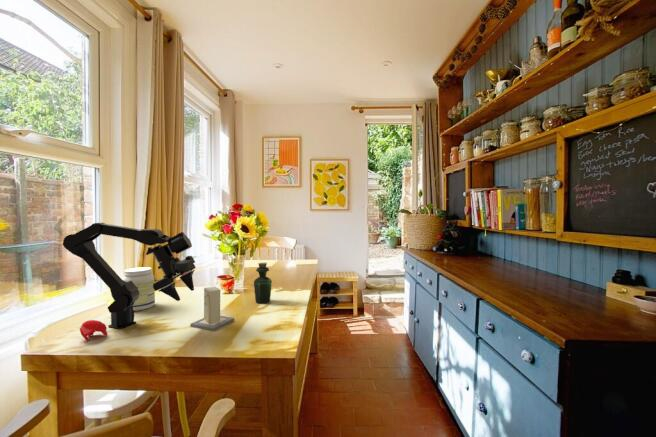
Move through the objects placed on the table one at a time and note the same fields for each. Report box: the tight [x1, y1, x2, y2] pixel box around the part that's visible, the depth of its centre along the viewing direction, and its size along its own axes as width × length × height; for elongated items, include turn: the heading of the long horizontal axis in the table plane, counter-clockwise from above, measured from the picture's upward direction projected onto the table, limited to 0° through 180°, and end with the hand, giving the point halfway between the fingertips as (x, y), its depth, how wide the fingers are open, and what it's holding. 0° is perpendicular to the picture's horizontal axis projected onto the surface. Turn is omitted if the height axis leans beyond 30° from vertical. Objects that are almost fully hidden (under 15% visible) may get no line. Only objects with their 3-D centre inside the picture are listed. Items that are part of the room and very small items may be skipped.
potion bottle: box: [253, 262, 273, 305], centre depth 144 cm, size 8×8×18 cm
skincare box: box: [203, 286, 221, 324], centre depth 118 cm, size 6×4×12 cm
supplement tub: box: [121, 266, 156, 312], centre depth 137 cm, size 12×12×17 cm
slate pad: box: [189, 315, 235, 332], centre depth 118 cm, size 11×11×1 cm
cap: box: [79, 319, 108, 342], centre depth 105 cm, size 8×6×6 cm
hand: (186, 295), depth 120 cm, fingers open, 9 cm apart
